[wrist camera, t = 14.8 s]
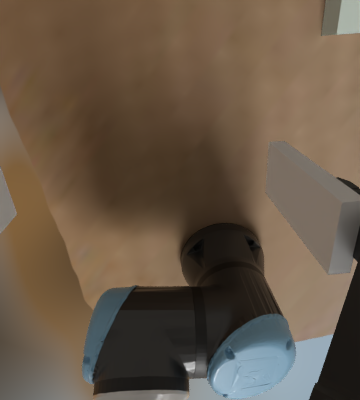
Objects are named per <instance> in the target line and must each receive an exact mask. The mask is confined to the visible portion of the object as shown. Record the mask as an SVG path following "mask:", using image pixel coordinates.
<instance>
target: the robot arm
mask: <svg viewBox="0 0 360 400" xmlns="http://www.w3.org/2000/svg"><path fill="white" fill-rule="evenodd" d="M265 193H266V194H267V195H268V197H269V198H270V199H271V200H272V202H273V203H274V204H275V206H276V207H277V208H278V210H279V211H280V212H281V214H282V215H283V216H284V218H285V219H286V220H287V222H288V223H289V224H290V225H291V227H292V228H293V229H294V231H295V232H296V233H297V235H298V236H299V237H300V239H301V240H302V241H303V243H304V244H305V245H306V246H307V248H308V249H309V250H310V252H311V253H312V254H313V256H314V257H315V258H316V260H317V261H318V262H319V264H320V265H321V266H322V268H323V269H324V270H325V271H326V273H327V274H328V275H330V274H340V273H350V270H351V266H352V262H353V258H355V260H356V261H357V262H358V263H357V266H356V269H355V272H354V275H353V278H352V281H351V284H350V287H349V290H348V293H347V296H346V299H345V302H344V305H343V308H342V311H341V314H340V317H339V320H338V323H337V326H336V329H335V332H334V335H333V338H332V341H331V344H330V347H329V350H328V353H327V356H326V359H325V362H324V365H323V368H322V371H321V374H320V377H319V380H318V382H317V383H315V385H314V388H313V390H312V393H311V396H310V399H309V400H360V189H359V187H357V186H356V185H354V184H353V183H352V182H350V181H347V180H344V179H341V178H339V177H337V178H335V177H334V176H333V175H331V174H330V173H328V172H327V171H326V170H324V169H323V168H321V167H320V166H319V165H317V164H316V163H314V162H313V161H312V160H310V159H309V158H307V157H306V156H305V155H303V154H302V153H300V152H299V151H298V150H296V149H295V148H293V147H292V146H291V145H289V144H288V143H286V142H285V141H277V142H269V149H268V163H267V178H266V192H265ZM16 215H17V213H16V210H15V207H14V204H13V201H12V198H11V196H10V193H9V190H8V187H7V184H6V181H5V178H4V175H3V172H2V170H1V167H0V234H1V232H2V231H3V230H4V229H5V228H6V227H7V225H8V224H9V223H10V222H11V221H12V219H13V218H14V217H15V216H16ZM181 265H182V272H183V275H184V278H185V280H186V282H187V283H188V285H189V286H172V287H143V286H137V285H134V286H132V287H122V288H111V289H109V290H107V291H106V292H104V293H103V294H102V296H101V297H100V299H99V300H98V302H97V304H96V306H95V309H94V311H93V314H92V317H91V320H90V324H89V327H88V331H87V336H86V341H85V346H84V359H83V364H82V374H83V378H84V379H85V381H87V382H89V383H90V384H94V383H95V384H94V393H93V400H186V399H187V398H188V397H189V379H193V378H207V380H208V382H209V384H210V386H211V388H212V389H213V390H214V391H215V393H217V394H218V395H223V396H224V397H225V398H230V399H244V398H249V397H253V396H256V395H259V394H261V393H264V392H266V391H268V390H270V389H271V388H272V387H274V386H275V385H276V384H278V383H279V382H281V381H282V380H283V379H284V378H285V377H286V376H287V374H288V373H289V372H290V370H291V368H292V366H293V364H294V361H295V356H296V347H295V343H294V340H293V338H292V335H291V332H290V330H289V325H288V322H287V320H286V319H285V318H284V316H283V314H282V312H281V310H280V308H279V306H278V304H277V302H276V300H275V298H274V296H273V294H272V291H271V289H270V287H269V285H268V283H267V281H266V279H265V277H264V254H263V250H262V248H261V246H260V244H259V242H258V240H257V238H256V237H255V236H254V234H253V233H252V232H250V231H249V230H248V229H246V228H244V227H242V226H239V225H235V224H228V223H222V224H215V225H211V226H208V227H206V228H203V229H202V230H200V231H198V232H197V233H195V234H194V235H193V236H192V237H191V238H190V239H189V240H188V241H187V243H186V244H185V246H184V248H183V251H182V255H181Z"/></svg>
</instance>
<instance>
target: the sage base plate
mask: <svg viewBox="0 0 360 400" xmlns="http://www.w3.org/2000/svg"><path fill="white" fill-rule="evenodd" d="M352 33H360V0H326V2H325V10H324V18H323V26H322V34H321V36H324V35H338V34H352Z"/></svg>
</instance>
